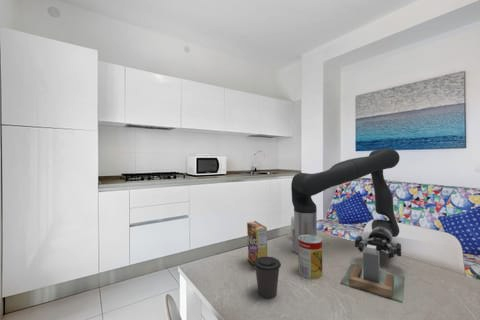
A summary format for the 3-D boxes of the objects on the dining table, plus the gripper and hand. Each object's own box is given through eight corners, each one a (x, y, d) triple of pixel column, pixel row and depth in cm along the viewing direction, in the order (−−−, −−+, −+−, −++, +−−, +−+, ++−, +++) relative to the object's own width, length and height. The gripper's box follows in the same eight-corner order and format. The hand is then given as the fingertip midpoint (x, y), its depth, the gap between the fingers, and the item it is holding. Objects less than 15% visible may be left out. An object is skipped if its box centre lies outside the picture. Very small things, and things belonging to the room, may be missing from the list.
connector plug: (363, 284, 71) (363, 247, 70) (365, 278, 74) (365, 243, 74) (378, 288, 68) (378, 250, 68) (379, 282, 71) (379, 245, 71)
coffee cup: (274, 305, 62) (274, 268, 62) (248, 296, 66) (248, 261, 66) (285, 290, 69) (285, 257, 68) (261, 282, 73) (260, 251, 73)
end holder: (340, 283, 72) (340, 275, 72) (351, 264, 85) (351, 257, 85) (402, 302, 62) (402, 293, 62) (404, 277, 75) (404, 270, 75)
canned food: (326, 272, 79) (325, 238, 79) (316, 281, 73) (316, 244, 73) (305, 265, 84) (304, 233, 84) (294, 273, 79) (294, 238, 78)
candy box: (247, 261, 88) (246, 222, 88) (256, 259, 90) (256, 220, 90) (257, 271, 80) (257, 228, 80) (268, 269, 82) (267, 226, 81)
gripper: (360, 225, 94) (352, 237, 82) (402, 232, 86) (400, 246, 73) (360, 243, 95) (352, 257, 82) (402, 252, 86) (400, 269, 73)
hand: (374, 252), depth 77 cm, fingers open, 8 cm apart
